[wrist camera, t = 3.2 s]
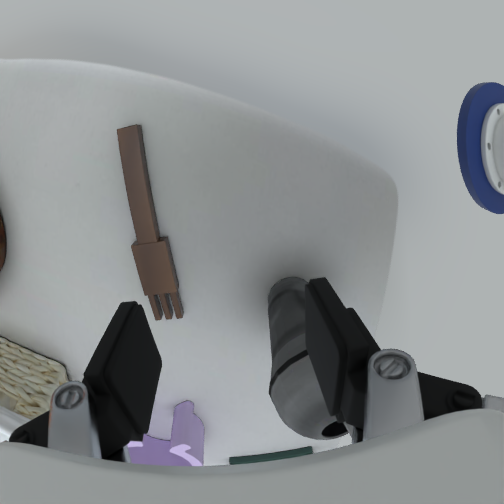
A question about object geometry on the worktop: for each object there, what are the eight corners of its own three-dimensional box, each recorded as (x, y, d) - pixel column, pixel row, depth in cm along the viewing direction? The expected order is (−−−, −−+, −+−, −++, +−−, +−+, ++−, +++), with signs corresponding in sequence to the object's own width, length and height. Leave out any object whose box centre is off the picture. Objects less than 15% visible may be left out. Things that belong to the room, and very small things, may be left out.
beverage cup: (240, 284, 27) (264, 501, 9) (311, 250, 26) (430, 436, 8) (271, 337, 30) (312, 520, 11) (334, 308, 29) (423, 475, 11)
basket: (-13, 321, 27) (-65, 384, 13) (74, 359, 29) (31, 449, 16) (23, 414, 35) (-2, 469, 21) (94, 444, 38) (77, 508, 24)
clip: (194, 464, 40) (193, 495, 34) (126, 451, 38) (120, 481, 32) (211, 404, 33) (210, 447, 27) (117, 385, 31) (104, 426, 25)
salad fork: (149, 123, 21) (145, 122, 20) (185, 312, 28) (184, 319, 27) (114, 131, 21) (109, 131, 20) (155, 315, 28) (153, 322, 27)
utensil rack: (311, 446, 40) (317, 469, 35) (310, 454, 41) (315, 476, 37) (229, 457, 40) (230, 481, 35) (232, 465, 41) (234, 487, 36)
